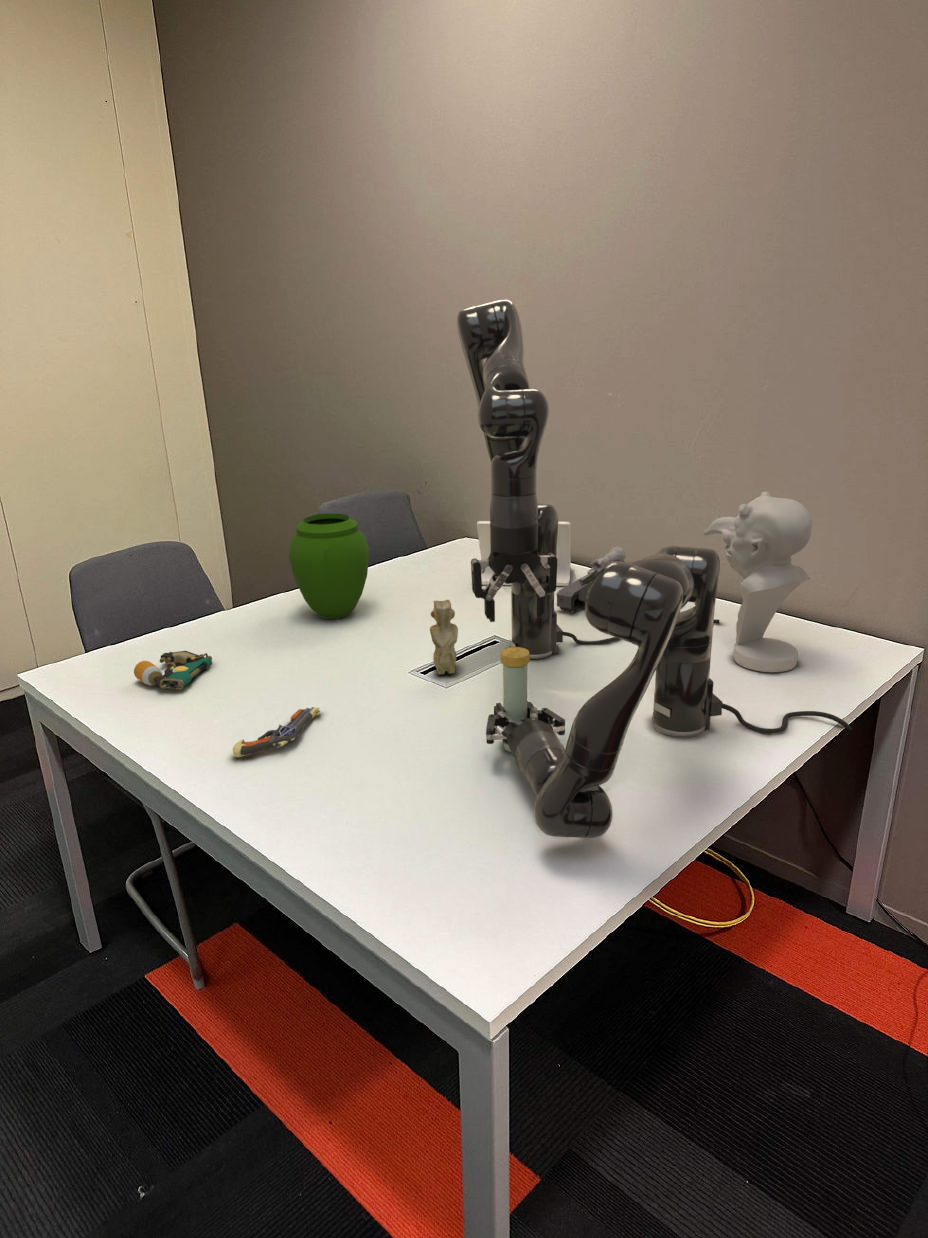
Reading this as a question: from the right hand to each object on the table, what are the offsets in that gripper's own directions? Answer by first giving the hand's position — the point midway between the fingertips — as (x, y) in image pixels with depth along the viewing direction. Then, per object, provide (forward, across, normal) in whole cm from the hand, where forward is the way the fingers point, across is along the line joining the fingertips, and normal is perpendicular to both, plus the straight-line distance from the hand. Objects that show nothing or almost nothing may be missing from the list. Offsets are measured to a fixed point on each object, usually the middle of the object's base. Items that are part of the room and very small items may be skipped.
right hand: (511, 706), depth 149 cm
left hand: (-3, 0, -17) cm, 18 cm away
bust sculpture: (+22, -58, +7) cm, 62 cm away
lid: (-3, 0, -11) cm, 11 cm away
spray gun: (+45, +61, +7) cm, 76 cm away
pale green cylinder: (-3, 0, +7) cm, 7 cm away
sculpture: (+32, +6, +7) cm, 33 cm away
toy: (+60, -43, +7) cm, 75 cm away
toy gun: (+12, +40, +7) cm, 43 cm away
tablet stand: (+90, -28, +7) cm, 95 cm away
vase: (+74, +26, +7) cm, 79 cm away
